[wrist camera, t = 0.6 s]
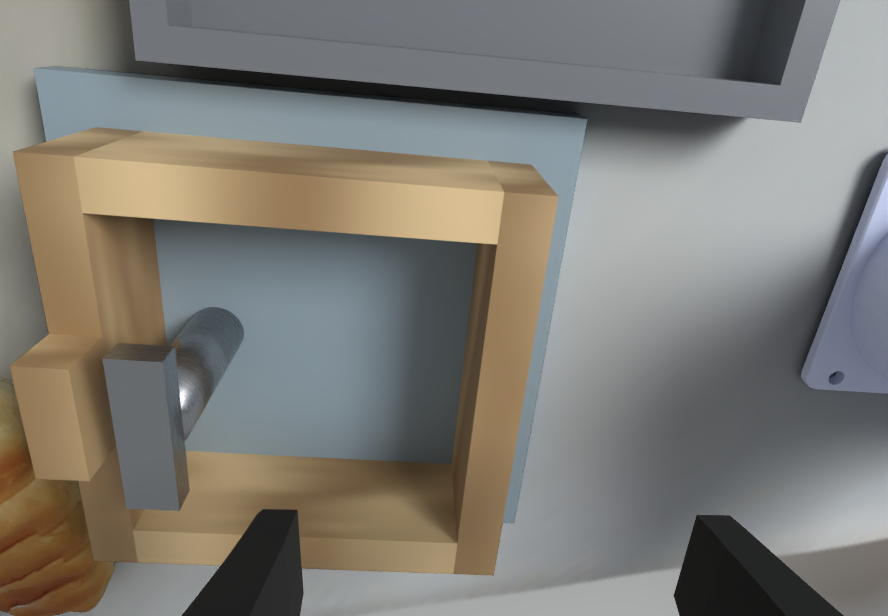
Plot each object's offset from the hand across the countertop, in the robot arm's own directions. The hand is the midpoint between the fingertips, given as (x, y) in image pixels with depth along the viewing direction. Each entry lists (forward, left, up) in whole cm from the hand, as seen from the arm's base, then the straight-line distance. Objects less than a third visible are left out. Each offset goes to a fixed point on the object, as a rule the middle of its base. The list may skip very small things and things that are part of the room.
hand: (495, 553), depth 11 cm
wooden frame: (+4, 0, -8) cm, 9 cm away
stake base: (+4, 0, -9) cm, 10 cm away
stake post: (+7, 0, -9) cm, 12 cm away
